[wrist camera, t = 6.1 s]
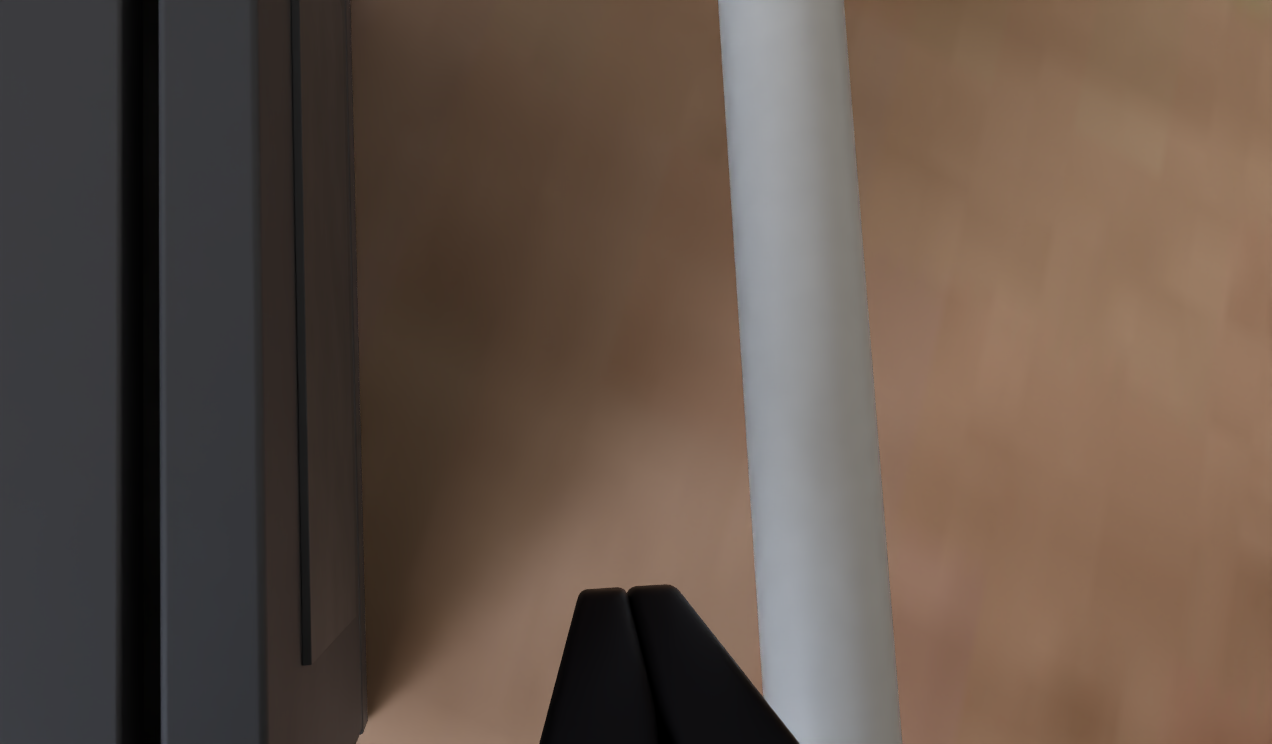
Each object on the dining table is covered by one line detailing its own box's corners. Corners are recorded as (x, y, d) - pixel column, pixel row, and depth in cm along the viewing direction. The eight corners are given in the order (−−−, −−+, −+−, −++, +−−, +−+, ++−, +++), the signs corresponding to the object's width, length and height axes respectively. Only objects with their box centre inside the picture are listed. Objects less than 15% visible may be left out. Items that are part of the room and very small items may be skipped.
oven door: (656, -41, 23) (839, -525, 12) (699, 703, 21) (956, 889, 11) (295, -52, 22) (155, -597, 11) (310, 736, 20) (158, 981, 10)
